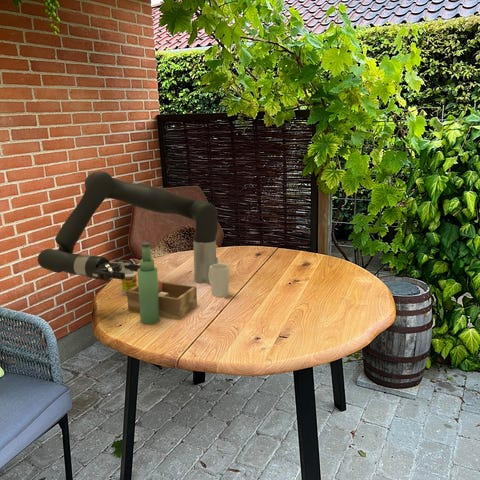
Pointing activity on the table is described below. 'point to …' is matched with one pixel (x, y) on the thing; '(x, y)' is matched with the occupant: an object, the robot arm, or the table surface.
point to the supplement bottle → (129, 281)
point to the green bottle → (148, 287)
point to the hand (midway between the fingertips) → (132, 272)
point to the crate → (168, 299)
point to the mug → (219, 279)
